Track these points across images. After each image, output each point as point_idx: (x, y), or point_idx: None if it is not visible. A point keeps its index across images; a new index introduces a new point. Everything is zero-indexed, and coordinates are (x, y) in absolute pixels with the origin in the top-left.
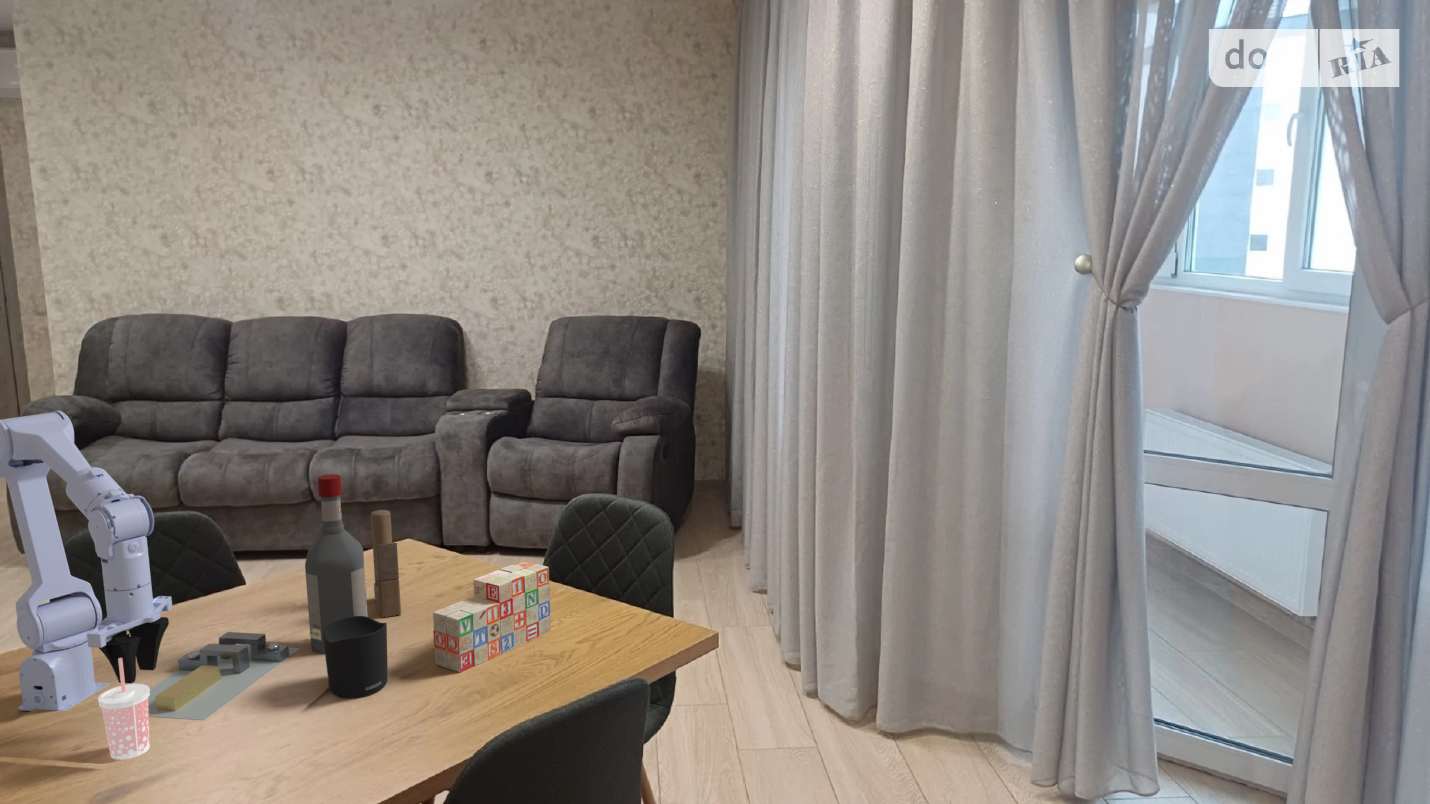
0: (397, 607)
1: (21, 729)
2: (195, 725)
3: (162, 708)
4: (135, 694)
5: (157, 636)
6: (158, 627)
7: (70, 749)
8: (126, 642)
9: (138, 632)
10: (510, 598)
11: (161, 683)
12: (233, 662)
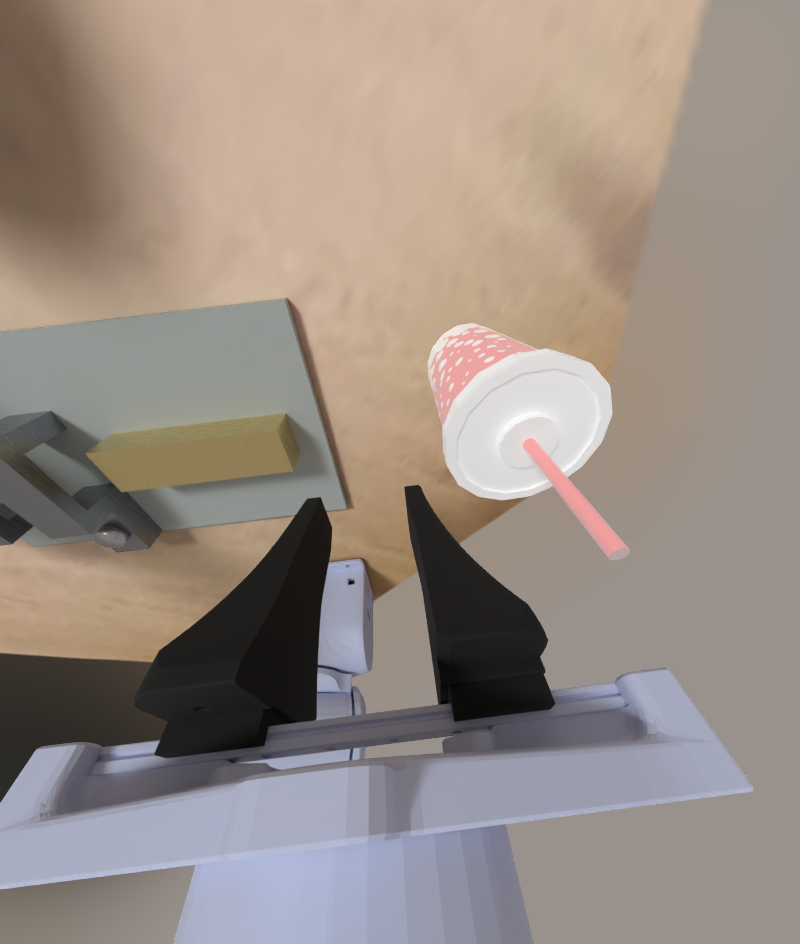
0: None
1: (412, 566)
2: (304, 319)
3: (295, 443)
4: (528, 399)
5: (271, 600)
6: (251, 655)
7: (455, 480)
8: (543, 638)
9: (304, 661)
10: None
11: (218, 519)
12: (37, 442)
